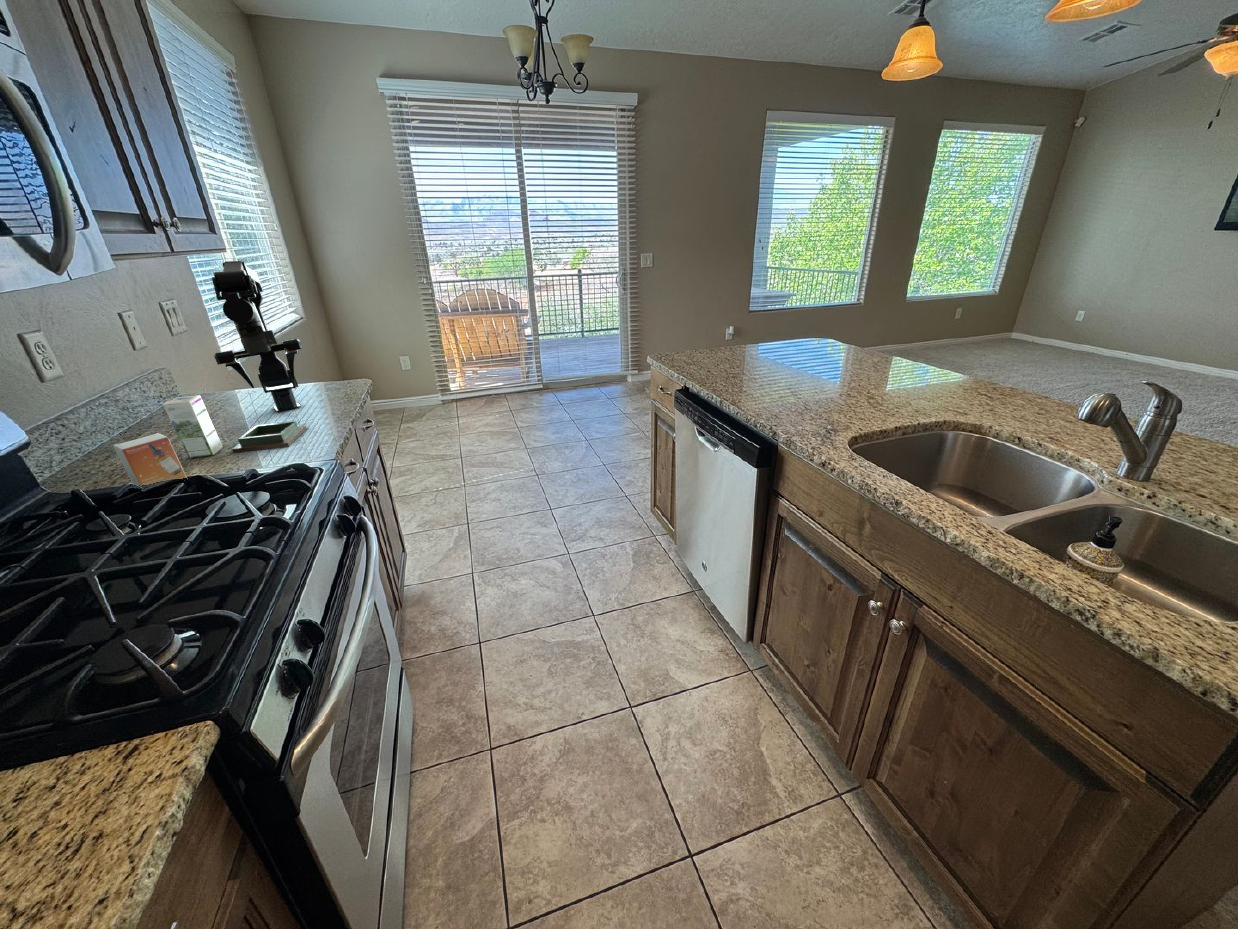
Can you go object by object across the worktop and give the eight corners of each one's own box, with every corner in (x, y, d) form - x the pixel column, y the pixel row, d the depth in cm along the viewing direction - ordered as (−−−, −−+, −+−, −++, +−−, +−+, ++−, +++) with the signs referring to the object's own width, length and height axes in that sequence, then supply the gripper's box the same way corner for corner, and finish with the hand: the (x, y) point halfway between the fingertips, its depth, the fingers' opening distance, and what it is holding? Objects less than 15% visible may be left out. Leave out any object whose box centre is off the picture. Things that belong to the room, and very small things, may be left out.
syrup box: (224, 447, 127) (201, 393, 121) (213, 455, 122) (189, 400, 116) (198, 450, 126) (174, 396, 119) (187, 459, 121) (161, 403, 114)
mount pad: (256, 434, 135) (252, 424, 133) (306, 428, 137) (303, 419, 136) (233, 452, 123) (228, 441, 122) (288, 446, 125) (284, 435, 124)
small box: (144, 494, 104) (120, 449, 99) (134, 488, 107) (111, 444, 102) (188, 479, 110) (168, 436, 105) (178, 474, 113) (158, 432, 108)
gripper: (199, 330, 112) (229, 395, 117) (291, 315, 121) (315, 377, 127) (204, 330, 121) (232, 391, 126) (290, 317, 130) (312, 374, 135)
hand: (273, 383), depth 128 cm, fingers open, 9 cm apart
